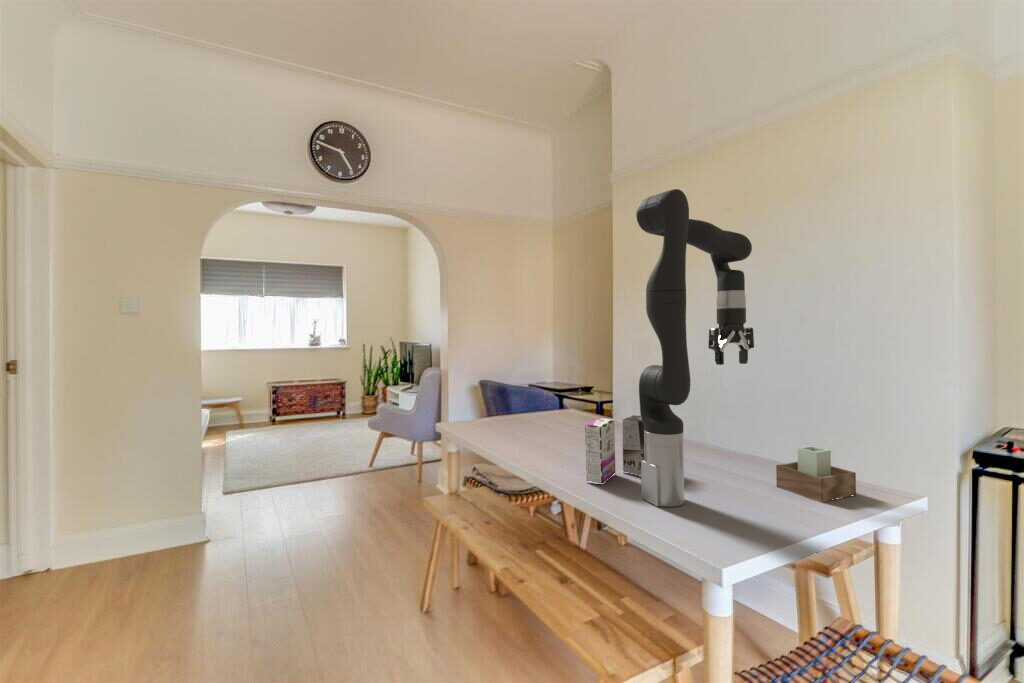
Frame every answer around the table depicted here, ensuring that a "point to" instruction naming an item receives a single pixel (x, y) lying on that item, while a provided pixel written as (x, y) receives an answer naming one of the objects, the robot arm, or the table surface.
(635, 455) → the coffee box
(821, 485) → the walnut crate
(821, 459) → the green square vase
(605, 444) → the candy bar box
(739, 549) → the table surface
